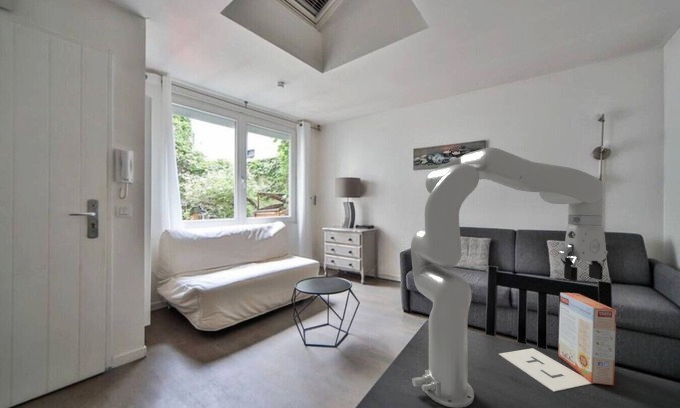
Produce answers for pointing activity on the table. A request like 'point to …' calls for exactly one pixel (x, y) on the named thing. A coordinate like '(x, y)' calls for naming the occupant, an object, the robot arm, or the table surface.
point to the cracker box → (587, 337)
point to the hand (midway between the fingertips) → (583, 279)
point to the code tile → (545, 369)
